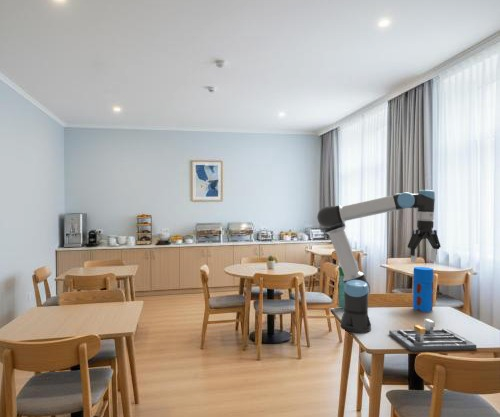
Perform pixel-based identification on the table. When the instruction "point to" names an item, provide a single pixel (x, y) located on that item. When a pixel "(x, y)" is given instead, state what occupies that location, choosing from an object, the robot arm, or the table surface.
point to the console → (432, 340)
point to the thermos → (423, 289)
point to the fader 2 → (429, 326)
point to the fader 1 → (419, 333)
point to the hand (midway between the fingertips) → (423, 261)
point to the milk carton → (341, 288)
